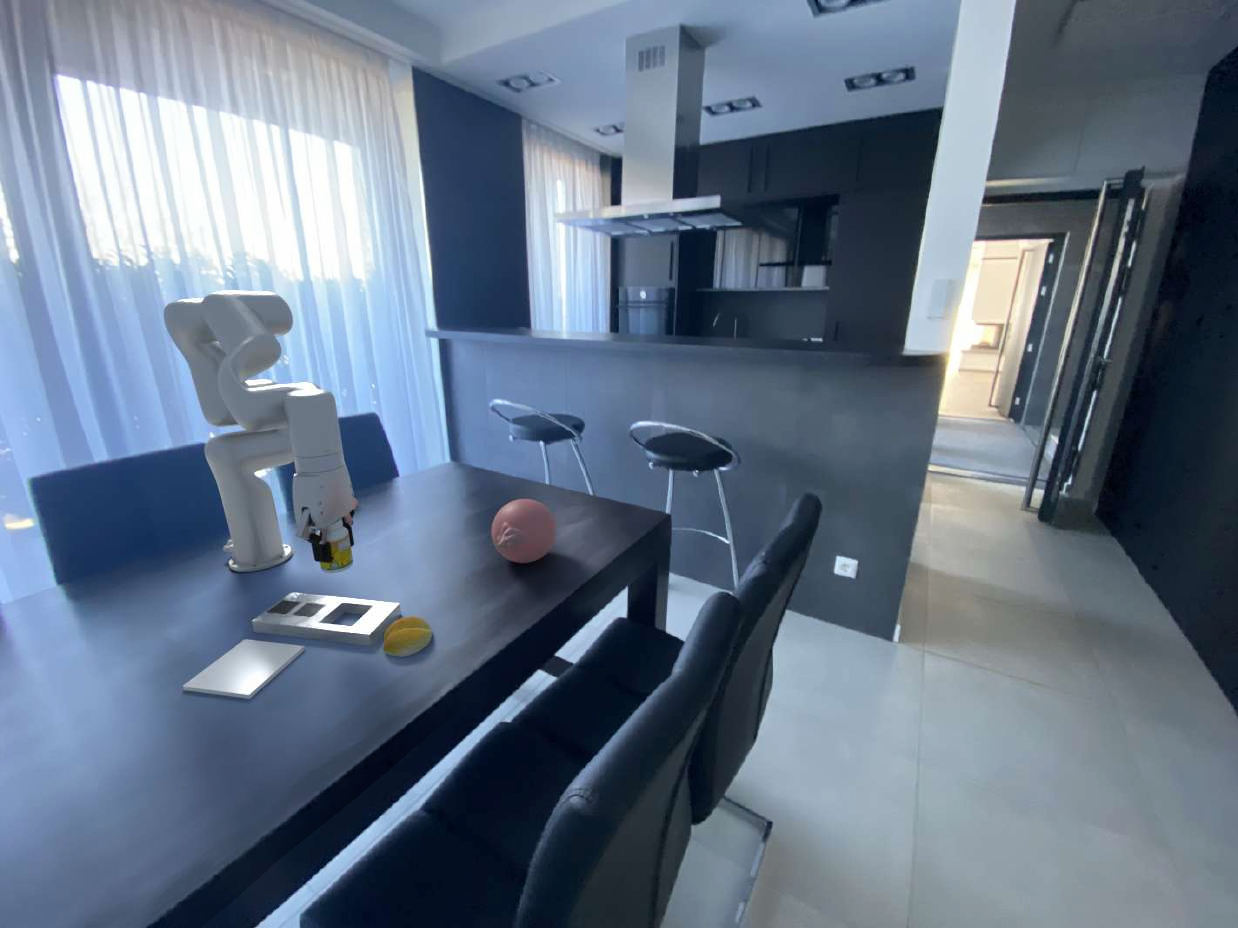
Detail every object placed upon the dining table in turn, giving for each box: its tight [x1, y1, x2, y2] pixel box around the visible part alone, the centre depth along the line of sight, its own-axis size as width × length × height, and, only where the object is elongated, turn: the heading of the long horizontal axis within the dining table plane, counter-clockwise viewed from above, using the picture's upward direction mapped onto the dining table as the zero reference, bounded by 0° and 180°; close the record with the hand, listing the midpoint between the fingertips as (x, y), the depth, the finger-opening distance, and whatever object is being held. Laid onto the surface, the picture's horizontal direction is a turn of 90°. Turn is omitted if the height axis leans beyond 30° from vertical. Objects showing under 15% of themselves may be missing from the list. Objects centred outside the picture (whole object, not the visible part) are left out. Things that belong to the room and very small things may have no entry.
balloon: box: [491, 498, 557, 564], centre depth 120 cm, size 15×20×15 cm
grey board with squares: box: [251, 591, 402, 647], centre depth 99 cm, size 24×10×3 cm, turn 82°
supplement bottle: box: [316, 518, 354, 574], centre depth 94 cm, size 5×5×10 cm
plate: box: [182, 638, 306, 700], centre depth 87 cm, size 12×12×1 cm
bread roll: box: [382, 616, 433, 658], centre depth 94 cm, size 8×9×4 cm
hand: (334, 552), depth 94 cm, fingers closed on supplement bottle, 5 cm apart
